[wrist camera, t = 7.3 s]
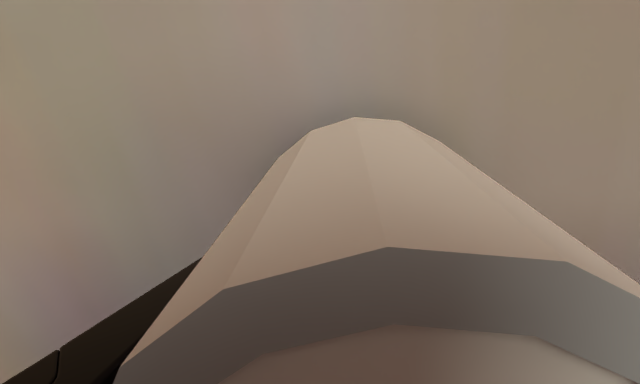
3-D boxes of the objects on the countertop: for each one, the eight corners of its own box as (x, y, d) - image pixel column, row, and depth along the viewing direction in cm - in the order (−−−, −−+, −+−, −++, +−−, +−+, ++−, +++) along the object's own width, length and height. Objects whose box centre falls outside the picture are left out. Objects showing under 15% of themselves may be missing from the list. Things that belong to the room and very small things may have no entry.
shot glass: (546, 135, 10) (980, 379, 3) (436, 345, 12) (547, 708, 6) (265, 53, 9) (93, 142, 3) (215, 291, 12) (69, 624, 5)
